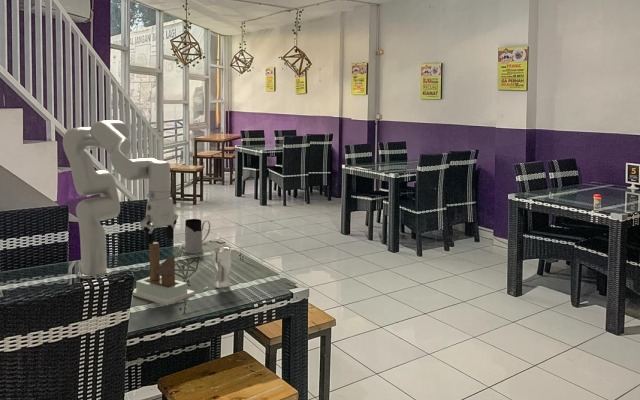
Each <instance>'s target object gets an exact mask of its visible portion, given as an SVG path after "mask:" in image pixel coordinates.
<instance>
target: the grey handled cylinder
mask: <svg viewBox="0 0 640 400" xmlns="http://www.w3.org/2000/svg"><path fill="white" fill-rule="evenodd" d="M206 222H207V223H208V230H207V233H206V235H205V236H204V238H203V231H204V226H205V223H206ZM184 223H185V227H184V235H185V236H184V240H185V241H184V242H185V243H184V244H185V247H184V248H185V249H184V253H186V254H199V253H203V252H204V250H203V242H204V241H205V240H206V238H207V237H208V235H209V233H210V231H211V223H210V221H209V220H205V221H203V222H202V219H199V218H188V219H186V220H185V222H184Z"/></svg>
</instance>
